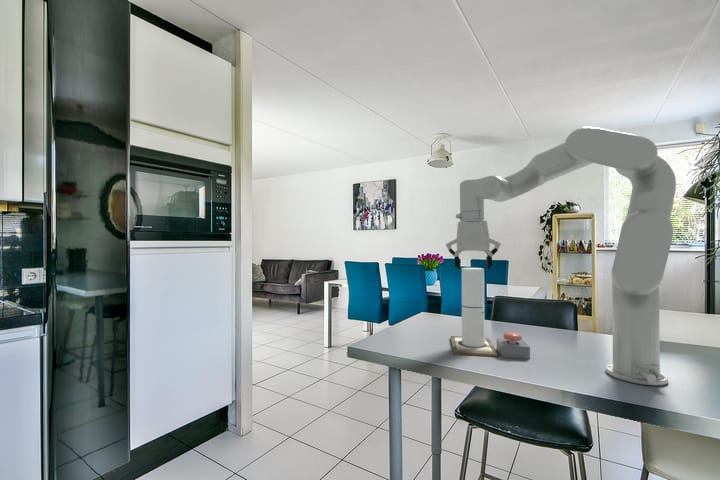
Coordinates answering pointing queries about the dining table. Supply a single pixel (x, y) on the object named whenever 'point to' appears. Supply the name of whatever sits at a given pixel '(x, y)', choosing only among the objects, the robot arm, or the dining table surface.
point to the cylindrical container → (473, 307)
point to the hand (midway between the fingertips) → (473, 268)
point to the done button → (512, 337)
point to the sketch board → (473, 348)
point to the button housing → (513, 349)
